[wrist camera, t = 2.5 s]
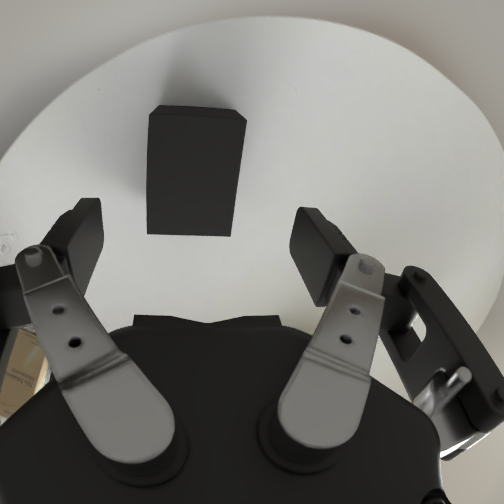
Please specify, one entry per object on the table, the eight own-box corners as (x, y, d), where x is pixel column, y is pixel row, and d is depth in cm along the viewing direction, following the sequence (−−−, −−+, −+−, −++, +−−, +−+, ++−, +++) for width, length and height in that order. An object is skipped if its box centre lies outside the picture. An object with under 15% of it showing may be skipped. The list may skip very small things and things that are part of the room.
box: (51, 340, 26) (29, 428, 17) (51, 360, 28) (33, 441, 19) (11, 324, 24) (-19, 407, 15) (14, 345, 26) (-10, 423, 17)
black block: (154, 202, 21) (147, 234, 17) (159, 105, 17) (149, 113, 13) (223, 205, 22) (230, 237, 18) (235, 109, 18) (247, 119, 14)
